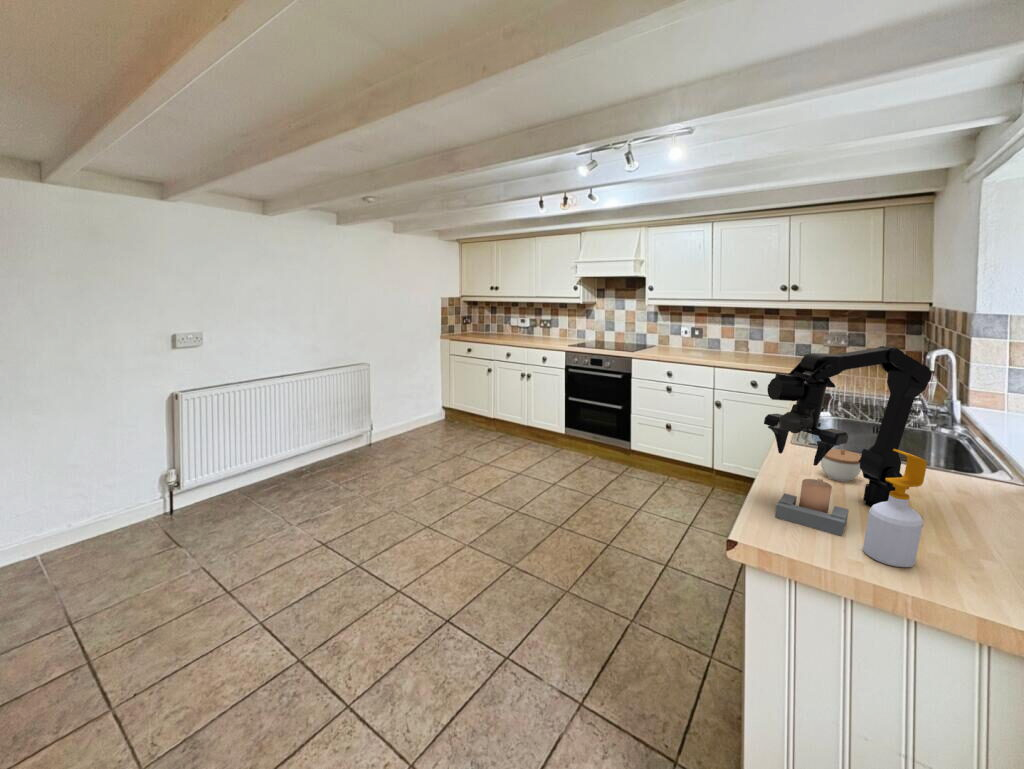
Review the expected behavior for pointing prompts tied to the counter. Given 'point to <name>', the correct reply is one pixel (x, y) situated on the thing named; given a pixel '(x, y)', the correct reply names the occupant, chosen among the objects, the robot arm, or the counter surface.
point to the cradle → (811, 516)
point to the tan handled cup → (815, 495)
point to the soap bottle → (896, 520)
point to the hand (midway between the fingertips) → (797, 459)
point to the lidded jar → (841, 465)
